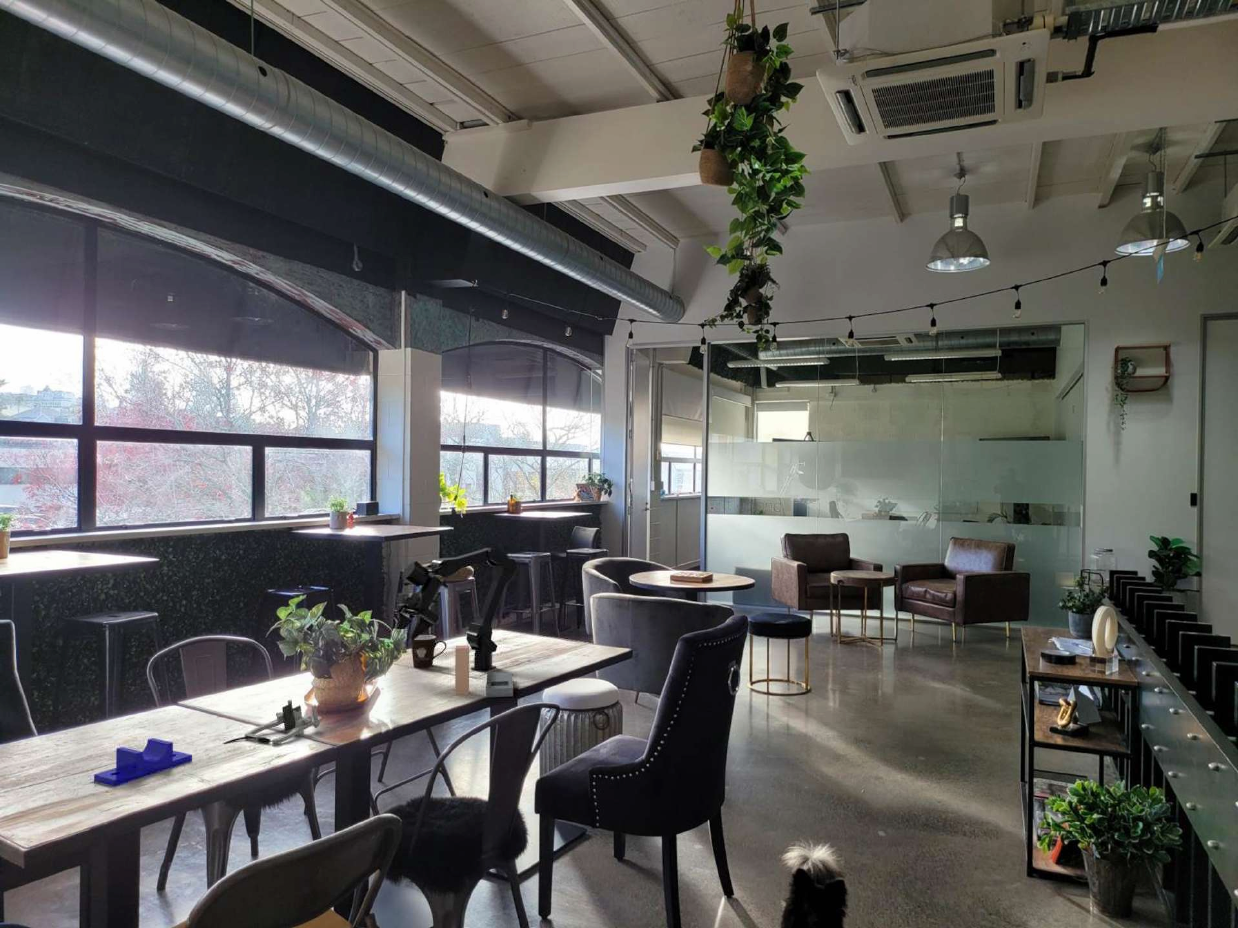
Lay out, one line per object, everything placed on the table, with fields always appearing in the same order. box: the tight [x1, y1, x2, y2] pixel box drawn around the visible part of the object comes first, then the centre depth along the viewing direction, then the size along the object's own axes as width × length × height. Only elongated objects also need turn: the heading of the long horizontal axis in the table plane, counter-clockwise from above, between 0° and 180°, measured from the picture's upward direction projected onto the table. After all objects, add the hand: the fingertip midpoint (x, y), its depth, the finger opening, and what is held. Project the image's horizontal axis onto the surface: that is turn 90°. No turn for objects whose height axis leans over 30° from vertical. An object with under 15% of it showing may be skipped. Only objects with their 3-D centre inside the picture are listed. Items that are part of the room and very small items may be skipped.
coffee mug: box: [410, 634, 447, 669], centre depth 288 cm, size 12×9×10 cm
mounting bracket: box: [93, 737, 193, 787], centre depth 185 cm, size 18×7×6 cm, turn 153°
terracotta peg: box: [454, 645, 470, 696], centre depth 253 cm, size 4×4×14 cm
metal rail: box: [485, 672, 514, 698], centre depth 258 cm, size 20×8×2 cm, turn 8°
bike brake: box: [222, 699, 322, 746], centre depth 209 cm, size 14×7×20 cm
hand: (403, 637), depth 264 cm, fingers open, 9 cm apart
